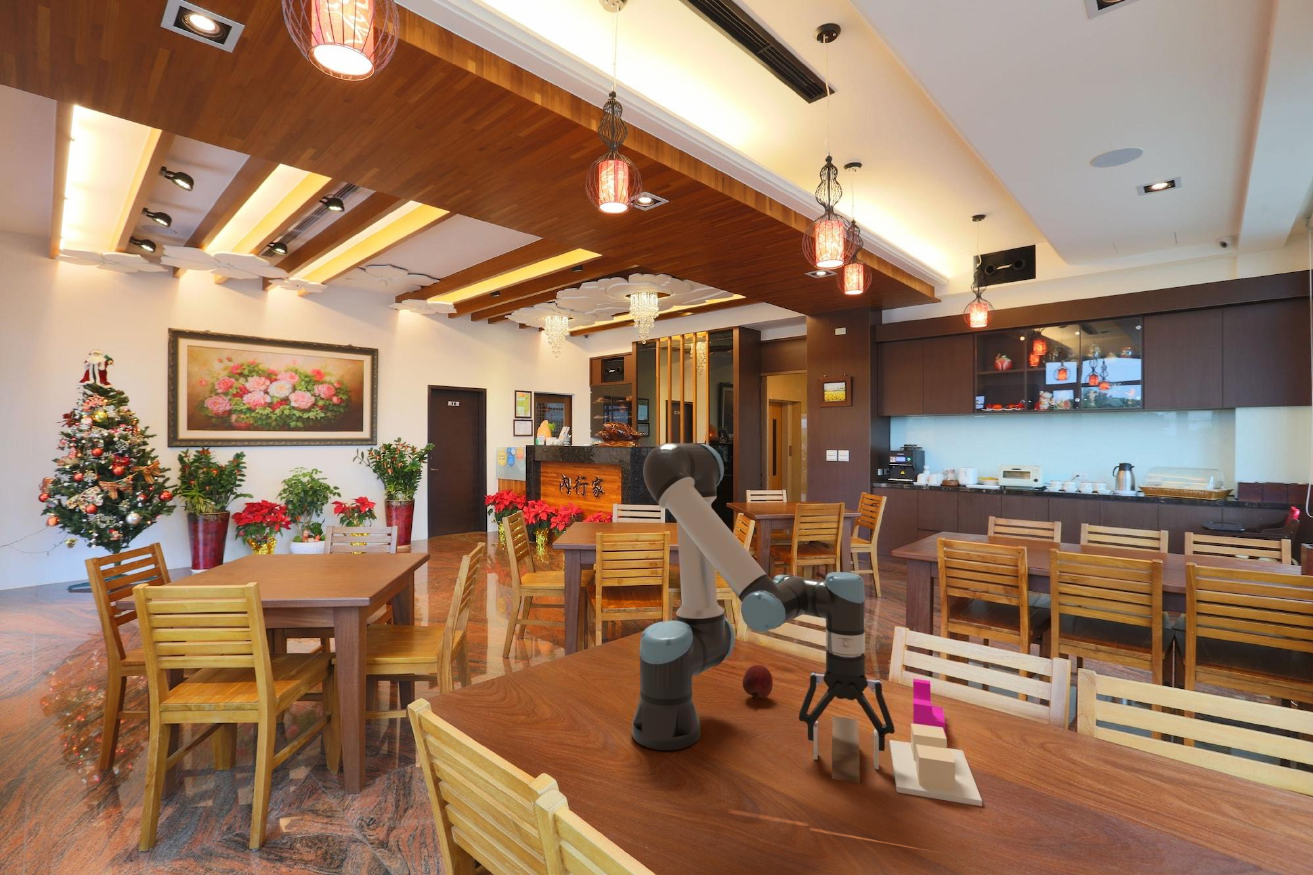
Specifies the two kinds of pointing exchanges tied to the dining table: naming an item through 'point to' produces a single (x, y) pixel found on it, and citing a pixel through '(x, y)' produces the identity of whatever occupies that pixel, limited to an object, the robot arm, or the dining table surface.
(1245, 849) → the dining table surface
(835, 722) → the lintel block
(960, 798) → the post board
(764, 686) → the apple
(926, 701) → the toy block
